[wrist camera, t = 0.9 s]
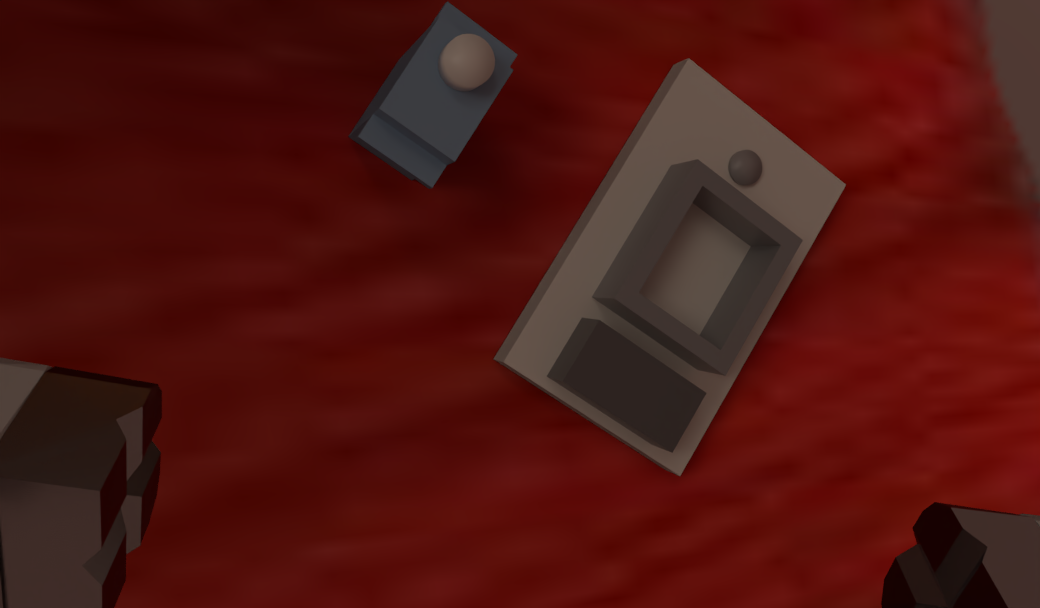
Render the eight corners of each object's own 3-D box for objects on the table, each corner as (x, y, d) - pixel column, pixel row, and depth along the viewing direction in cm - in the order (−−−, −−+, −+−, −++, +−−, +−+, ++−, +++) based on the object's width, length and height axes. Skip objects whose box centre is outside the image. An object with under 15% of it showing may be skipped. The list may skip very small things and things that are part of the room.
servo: (399, 199, 42) (446, 182, 34) (335, 156, 41) (368, 128, 33) (473, 85, 43) (536, 41, 34) (411, 40, 42) (462, -16, 34)
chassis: (665, 469, 46) (706, 487, 42) (493, 359, 43) (521, 367, 39) (826, 187, 48) (880, 180, 44) (673, 64, 45) (716, 46, 42)
